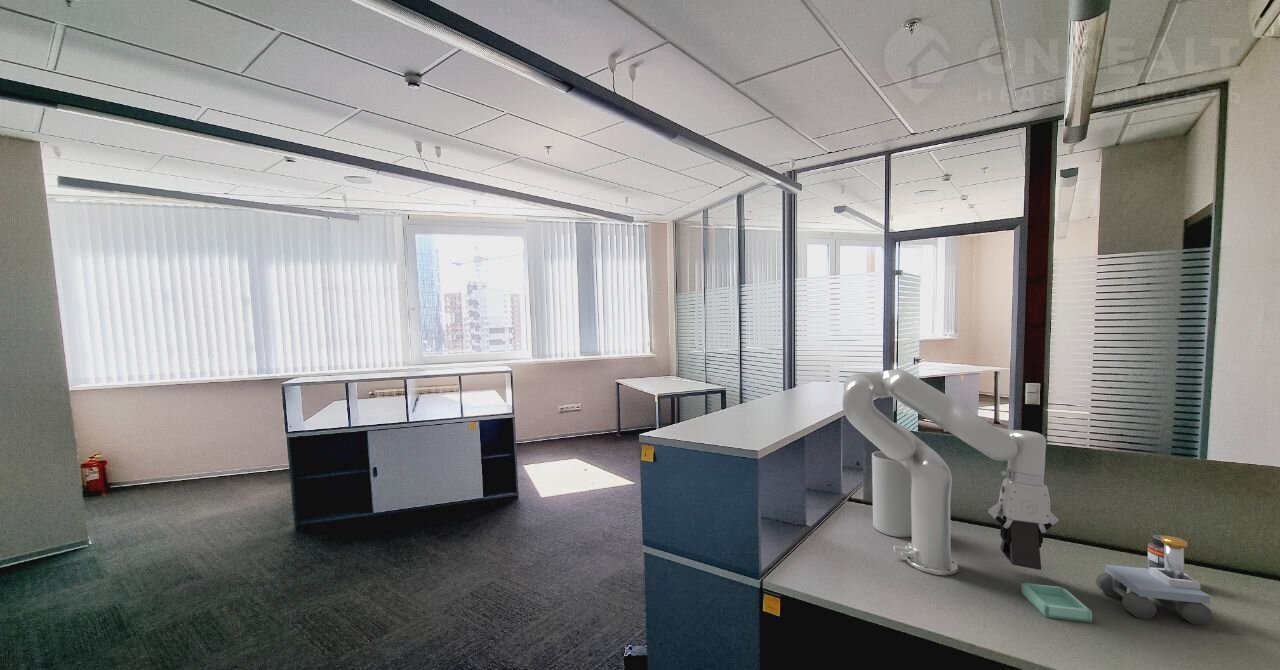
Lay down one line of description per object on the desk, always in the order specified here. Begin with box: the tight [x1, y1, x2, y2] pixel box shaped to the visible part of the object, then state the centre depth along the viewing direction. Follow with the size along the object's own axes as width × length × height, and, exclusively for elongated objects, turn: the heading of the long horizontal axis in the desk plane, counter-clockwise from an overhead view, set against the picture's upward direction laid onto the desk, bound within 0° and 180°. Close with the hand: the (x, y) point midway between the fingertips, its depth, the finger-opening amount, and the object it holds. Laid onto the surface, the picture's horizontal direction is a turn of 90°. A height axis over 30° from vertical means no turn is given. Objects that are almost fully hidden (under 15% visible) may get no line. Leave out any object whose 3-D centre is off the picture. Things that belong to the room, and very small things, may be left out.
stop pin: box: [1161, 535, 1188, 579], centre depth 107 cm, size 4×4×10 cm
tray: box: [1020, 582, 1093, 623], centre depth 109 cm, size 9×10×3 cm
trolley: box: [1095, 564, 1213, 626], centre depth 108 cm, size 11×15×9 cm
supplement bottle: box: [1147, 534, 1164, 569], centre depth 119 cm, size 6×6×11 cm
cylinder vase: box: [871, 450, 912, 538], centre depth 152 cm, size 12×12×25 cm
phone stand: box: [999, 520, 1042, 571], centre depth 122 cm, size 9×6×12 cm, turn 158°
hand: (1020, 542), depth 122 cm, fingers closed on phone stand, 6 cm apart
